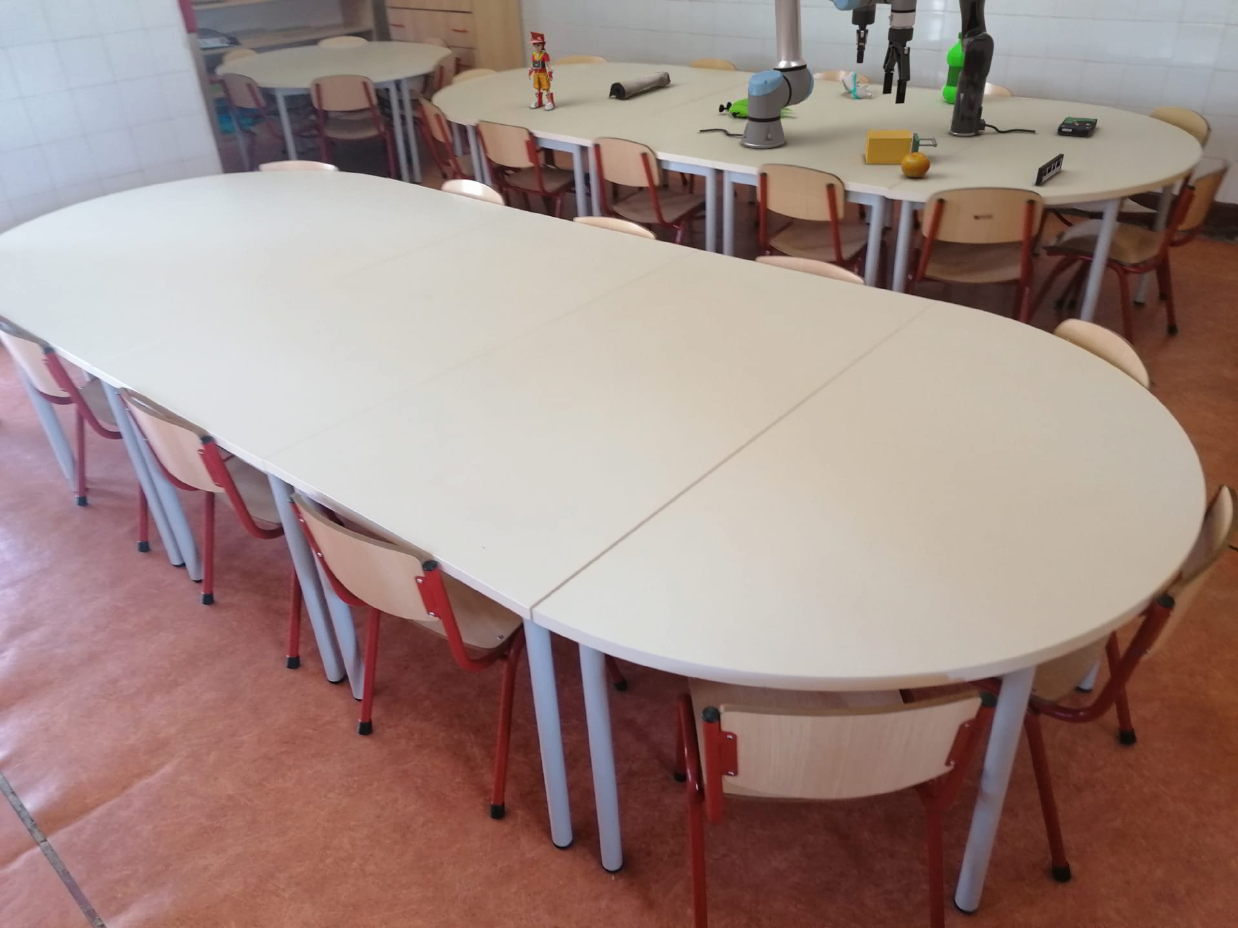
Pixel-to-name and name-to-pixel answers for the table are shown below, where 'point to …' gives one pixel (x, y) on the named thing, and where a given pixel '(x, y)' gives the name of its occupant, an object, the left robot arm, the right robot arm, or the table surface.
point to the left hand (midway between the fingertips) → (893, 98)
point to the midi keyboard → (1049, 169)
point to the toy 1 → (541, 71)
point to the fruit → (915, 164)
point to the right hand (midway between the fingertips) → (859, 60)
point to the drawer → (916, 144)
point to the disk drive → (1077, 126)
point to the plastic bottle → (953, 71)
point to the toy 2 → (742, 108)
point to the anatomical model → (855, 86)
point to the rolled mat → (638, 84)
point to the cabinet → (887, 146)
